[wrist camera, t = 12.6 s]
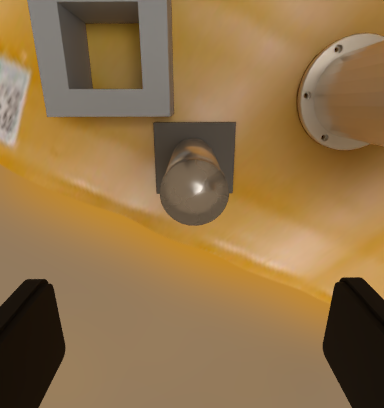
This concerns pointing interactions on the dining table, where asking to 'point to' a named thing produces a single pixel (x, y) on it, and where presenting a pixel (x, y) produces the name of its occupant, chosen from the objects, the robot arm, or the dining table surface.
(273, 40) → the dining table surface
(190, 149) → the silver metallic cylinder
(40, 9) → the housing
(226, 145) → the mat
